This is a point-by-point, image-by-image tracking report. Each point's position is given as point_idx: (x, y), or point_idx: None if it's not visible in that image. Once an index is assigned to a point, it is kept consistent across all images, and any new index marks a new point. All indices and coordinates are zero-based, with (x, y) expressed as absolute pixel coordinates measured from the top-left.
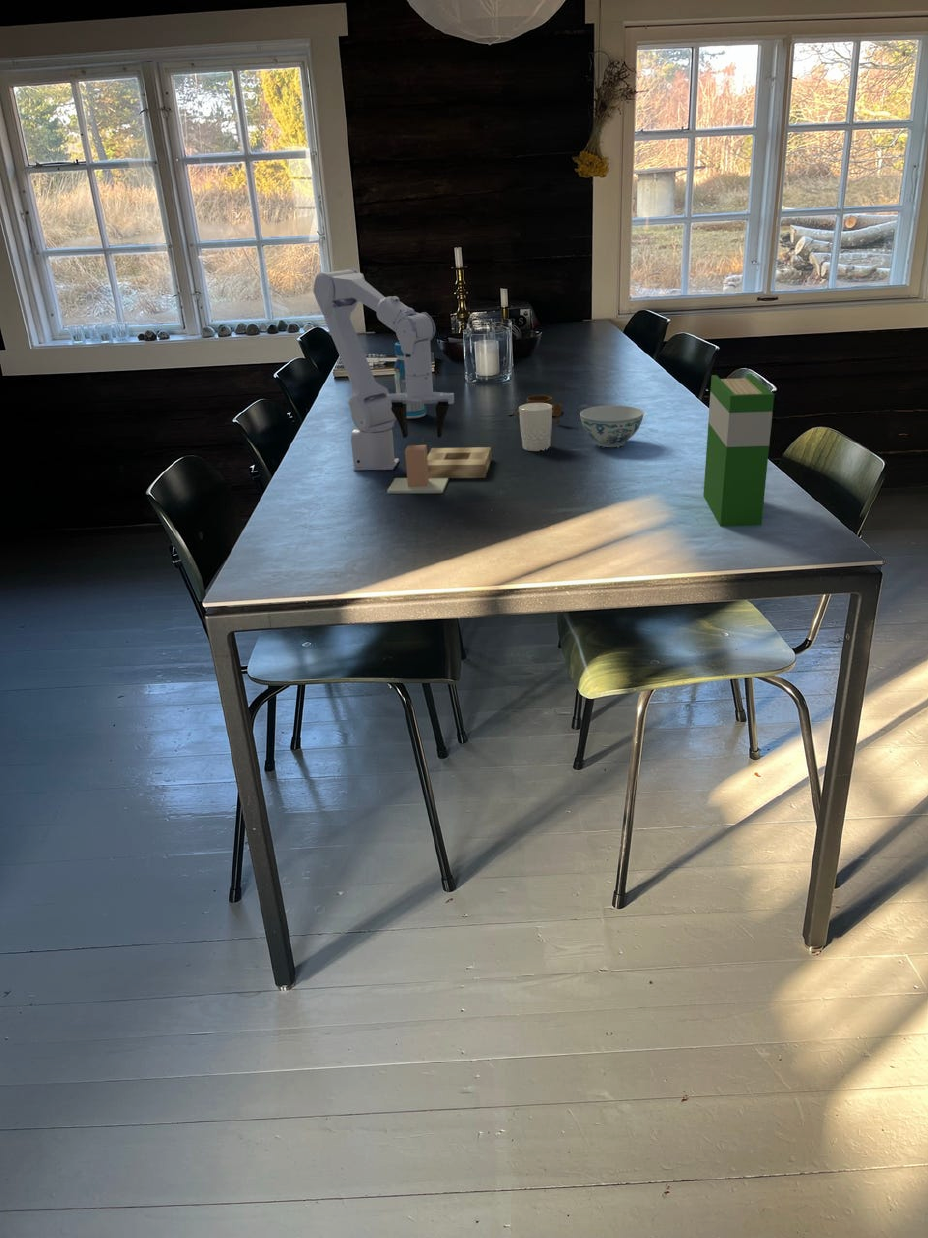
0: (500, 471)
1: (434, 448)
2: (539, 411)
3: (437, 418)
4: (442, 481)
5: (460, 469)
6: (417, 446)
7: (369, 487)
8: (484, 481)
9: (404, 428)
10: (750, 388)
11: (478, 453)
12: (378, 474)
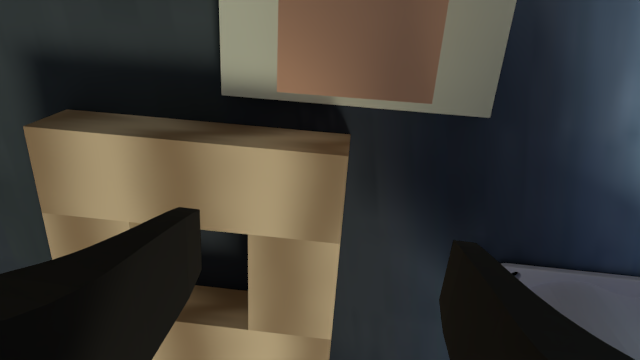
0: (29, 188)
1: None
2: None
3: (90, 272)
4: (240, 30)
5: (156, 129)
6: (349, 52)
7: (634, 11)
8: (55, 54)
9: (481, 272)
10: None
11: None
12: (566, 219)
